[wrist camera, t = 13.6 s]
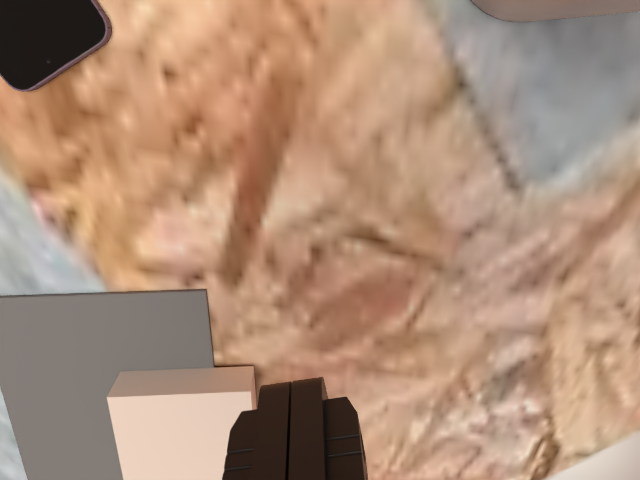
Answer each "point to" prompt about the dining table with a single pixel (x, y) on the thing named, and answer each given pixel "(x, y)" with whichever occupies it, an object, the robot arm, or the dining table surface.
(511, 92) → the dining table surface
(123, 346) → the mat
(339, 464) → the robot arm
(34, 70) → the smartphone
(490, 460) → the dining table surface
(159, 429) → the block
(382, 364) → the dining table surface
